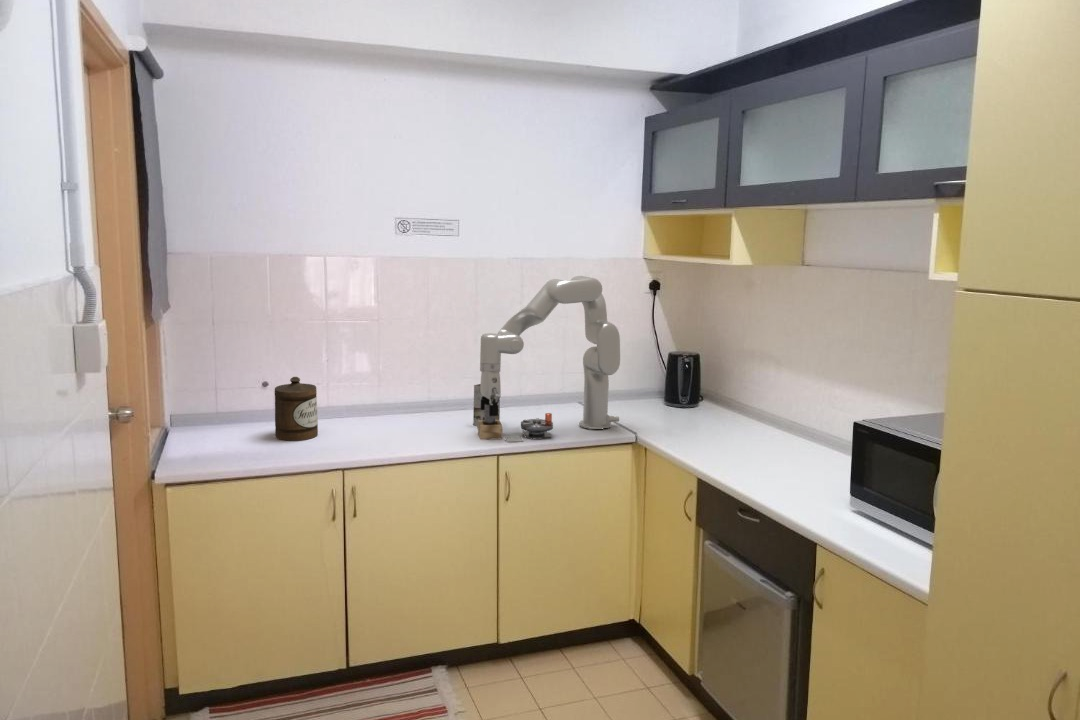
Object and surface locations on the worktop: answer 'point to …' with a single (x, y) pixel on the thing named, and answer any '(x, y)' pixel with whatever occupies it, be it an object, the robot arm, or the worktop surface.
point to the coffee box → (478, 412)
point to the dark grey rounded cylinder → (488, 416)
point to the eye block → (489, 430)
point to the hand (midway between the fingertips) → (489, 412)
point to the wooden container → (296, 411)
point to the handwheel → (538, 424)
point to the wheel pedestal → (536, 434)
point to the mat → (514, 439)
